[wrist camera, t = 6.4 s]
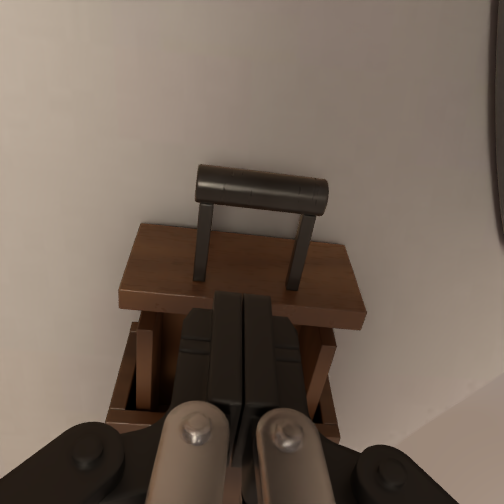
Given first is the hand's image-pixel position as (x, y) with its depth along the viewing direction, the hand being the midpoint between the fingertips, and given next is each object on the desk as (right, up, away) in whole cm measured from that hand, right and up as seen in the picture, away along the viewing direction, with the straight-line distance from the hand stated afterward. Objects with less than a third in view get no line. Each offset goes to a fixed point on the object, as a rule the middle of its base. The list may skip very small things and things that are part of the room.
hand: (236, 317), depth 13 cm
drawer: (-1, -1, +16) cm, 16 cm away
